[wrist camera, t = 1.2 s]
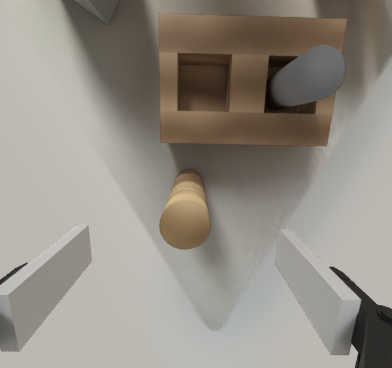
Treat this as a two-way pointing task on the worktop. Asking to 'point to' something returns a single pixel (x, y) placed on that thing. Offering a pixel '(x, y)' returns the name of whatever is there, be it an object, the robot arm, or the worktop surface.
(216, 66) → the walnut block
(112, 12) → the perfume bottle
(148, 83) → the worktop surface
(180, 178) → the oak dowel
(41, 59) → the worktop surface
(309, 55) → the charcoal dowel
